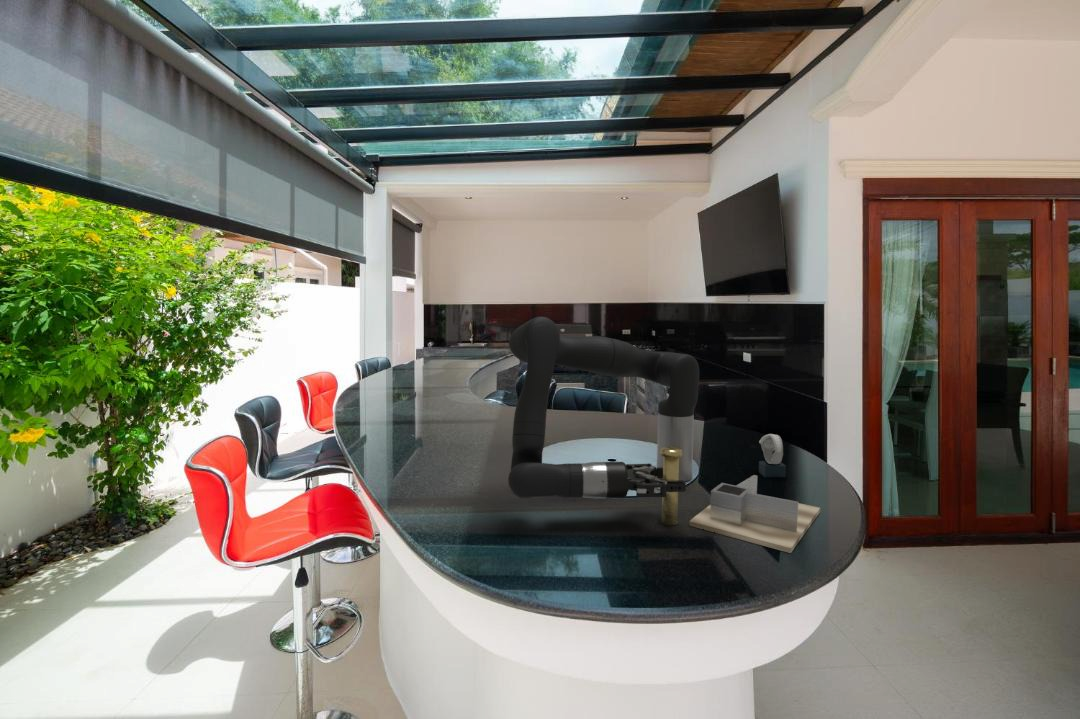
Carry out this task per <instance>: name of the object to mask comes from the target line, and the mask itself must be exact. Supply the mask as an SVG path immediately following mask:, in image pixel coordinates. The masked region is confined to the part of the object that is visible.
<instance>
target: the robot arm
mask: <svg viewBox="0 0 1080 719" xmlns="http://www.w3.org/2000/svg"><path fill="white" fill-rule="evenodd" d="M508 346H509V349H510V352H511V353H512V354H513V356H514V357H515V358H517V359H518V360H519V361H521V362H522V363H523V362H524V363H526V364H527V365H526V372H525V378H524V382H523V385H522V388H521V391H520V394H519V397H518V400H517V403H516V405H515V406H516V407H515V409H514V417H513V425H512V426H513V427H512V438H511V439H512V440H511V442H512V443H511V444H512V445H511V447H512V456H511V463H510V464H511V465H510V472H509V474H508V476H507V477H508V478H507V481H508V486H509V489H510V491H511V492H512V494H514V495H515V496H516V497H518V498H520V499H525V500H526V499H531V498H534V497H535V498H536V497H537V498H538V497H553V496H554V497H559V498H588V499H625V498H626V497H627V496H628V492H629V491H635V496H636V497H638V498H662V497H666V494H667V492H678V493H684V492H685V491H686V486H687V484H686V482H687V481H690V480H692V478H693V459H694V458H693V456H694V455H693V454H694V427H695V425H694V423H695V422H694V421H695V420H694V418H695V416H694V415H695V409H696V408H695V407H696V405H697V403H698V400H699V399H698V398H699V397H698V396H699V387H700V386H699V385H700V367H699V366H700V365H699V363H698V361H697V358H695V357H694V356H692V355H690V354H686V353H679V352H673V351H672V352H669V351H666V352H665V351H651V350H646V349H642V348H639V347H638V346H636V345H633V344H631V343H629V342H626V341H624V340H623V341H622V340H620V339H616V338H611V337H606V336H598V335H587V336H586V335H584V336H561V335H560V332H559V328H558V326H557V325H556V323H555V322H554V320H551V319H550V318H549V317H546V316H536V317H533V318H531V319H530V320H528V321H526V322H525V323H523V324H522V325H520V326H518V327H517V328H516V329H515V330H513V332H512V333H511V335H510V336H509V341H508ZM555 366H561V367H565V368H570V369H574V370H578V371H584V372H589V373H593V374H598V375H603V376H608V377H614V378H640V379H644V380H648V381H650V382H653V383H656V384H659V385H661V386H664V387H668V388H669V391H668V393H669V394H668V397H667V399H664V400H660V401H659V402H658V406H657V447H656V465H652V463H625V462H624V461H590V462H582V463H581V462H580V463H579V462H577V463H558V464H555V463H546V462H543V453H544V452H543V451H544V446H545V440H546V424H547V411H548V402H549V396H550V390H551V385H552V380H553V374H554V370H555ZM662 447H678V448H681V449H682V457H679V478H678V480H668V481H665V480H663V456H662V455H661V448H662Z"/></svg>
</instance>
